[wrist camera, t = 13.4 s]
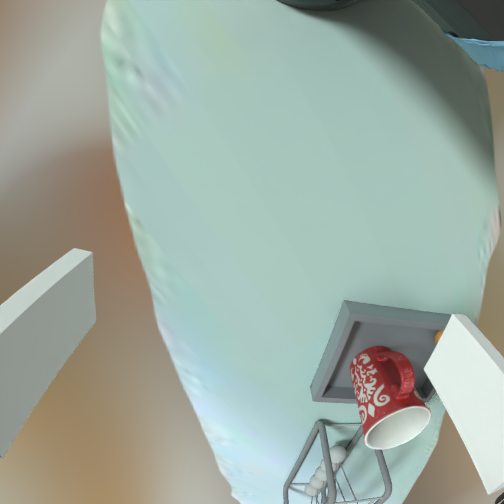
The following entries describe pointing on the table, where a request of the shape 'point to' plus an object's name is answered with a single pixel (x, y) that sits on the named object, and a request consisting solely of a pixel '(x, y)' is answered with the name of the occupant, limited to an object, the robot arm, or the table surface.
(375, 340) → the tray
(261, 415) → the table surface
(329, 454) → the newton's cradle
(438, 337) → the ball
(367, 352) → the mug
